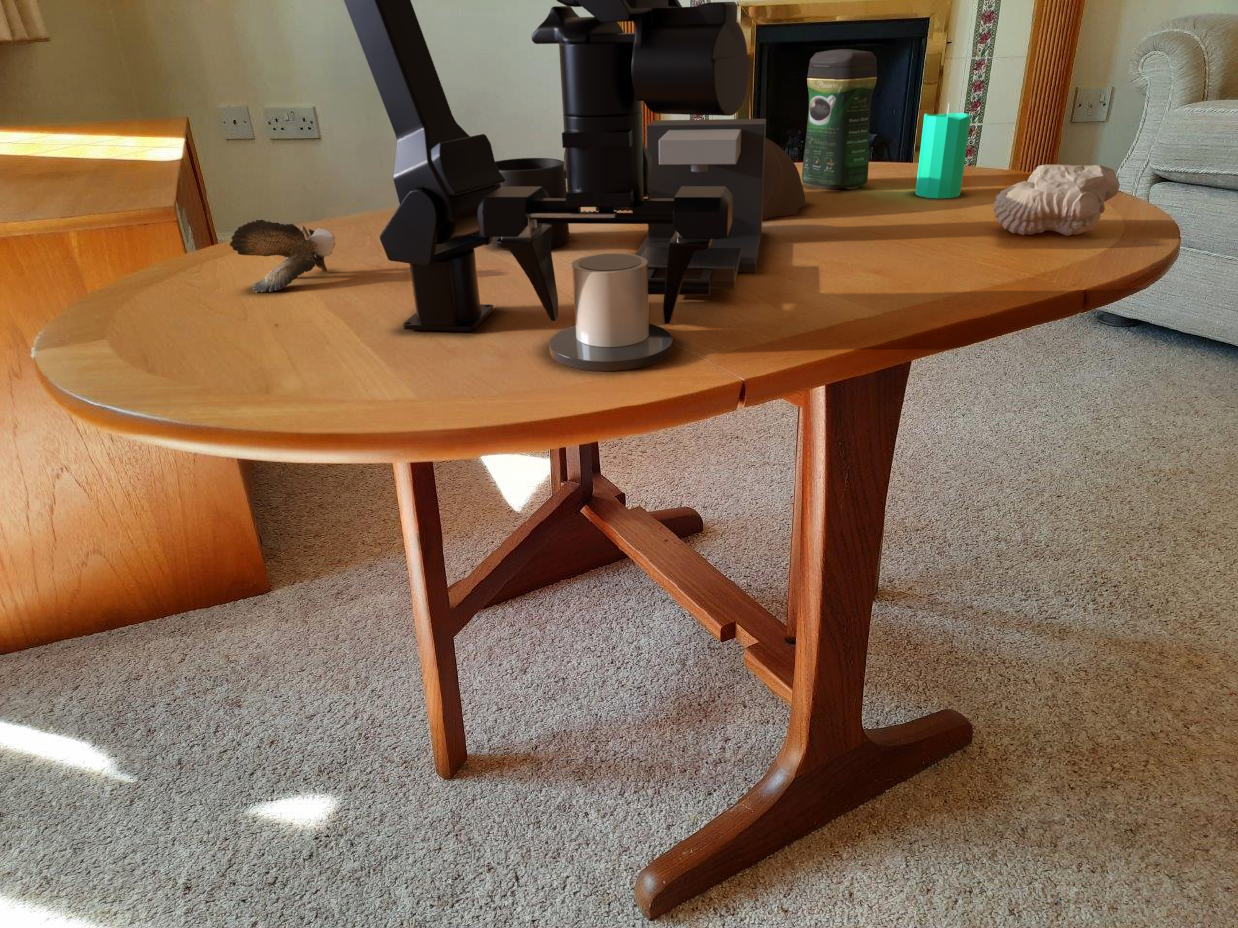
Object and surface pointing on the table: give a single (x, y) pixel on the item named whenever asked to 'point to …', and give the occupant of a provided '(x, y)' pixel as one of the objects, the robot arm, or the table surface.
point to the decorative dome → (780, 183)
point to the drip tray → (695, 270)
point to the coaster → (610, 351)
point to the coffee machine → (711, 175)
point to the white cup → (611, 299)
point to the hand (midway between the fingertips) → (610, 321)
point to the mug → (537, 175)
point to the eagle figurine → (283, 250)
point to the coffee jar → (839, 118)
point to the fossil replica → (1057, 199)
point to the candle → (942, 155)
